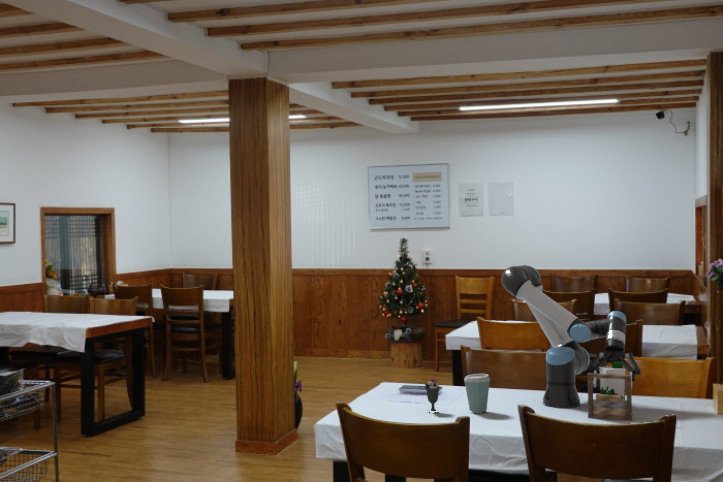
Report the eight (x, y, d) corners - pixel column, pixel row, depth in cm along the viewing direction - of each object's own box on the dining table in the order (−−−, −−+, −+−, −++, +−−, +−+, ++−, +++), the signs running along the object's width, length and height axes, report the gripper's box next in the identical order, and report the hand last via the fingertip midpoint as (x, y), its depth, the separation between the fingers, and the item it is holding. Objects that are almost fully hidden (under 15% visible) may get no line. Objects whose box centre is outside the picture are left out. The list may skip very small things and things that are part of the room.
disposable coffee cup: (474, 415, 303) (474, 377, 304) (459, 411, 313) (458, 374, 313) (496, 412, 308) (495, 375, 309) (480, 408, 318) (479, 372, 318)
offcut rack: (588, 417, 296) (587, 374, 296) (590, 414, 301) (589, 372, 302) (631, 420, 289) (630, 376, 289) (633, 417, 295) (632, 374, 295)
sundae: (442, 410, 314) (442, 374, 315) (439, 414, 308) (438, 376, 308) (427, 410, 316) (426, 373, 317) (423, 413, 310) (422, 376, 310)
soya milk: (629, 414, 299) (627, 363, 300) (606, 415, 299) (605, 364, 299) (619, 410, 308) (618, 360, 309) (597, 411, 307) (596, 361, 308)
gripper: (648, 350, 313) (646, 393, 299) (585, 348, 323) (580, 390, 309) (646, 339, 308) (645, 382, 294) (583, 337, 318) (578, 379, 304)
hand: (612, 386), depth 302 cm, fingers open, 13 cm apart
